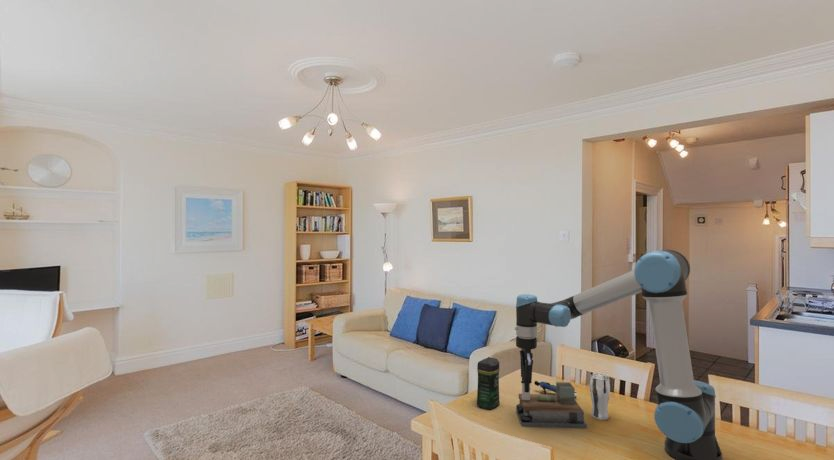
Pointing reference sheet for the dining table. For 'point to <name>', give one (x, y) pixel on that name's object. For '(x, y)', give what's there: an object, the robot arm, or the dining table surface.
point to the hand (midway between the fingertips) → (525, 399)
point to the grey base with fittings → (550, 418)
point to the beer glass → (599, 396)
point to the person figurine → (548, 386)
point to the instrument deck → (547, 405)
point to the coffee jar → (488, 383)
